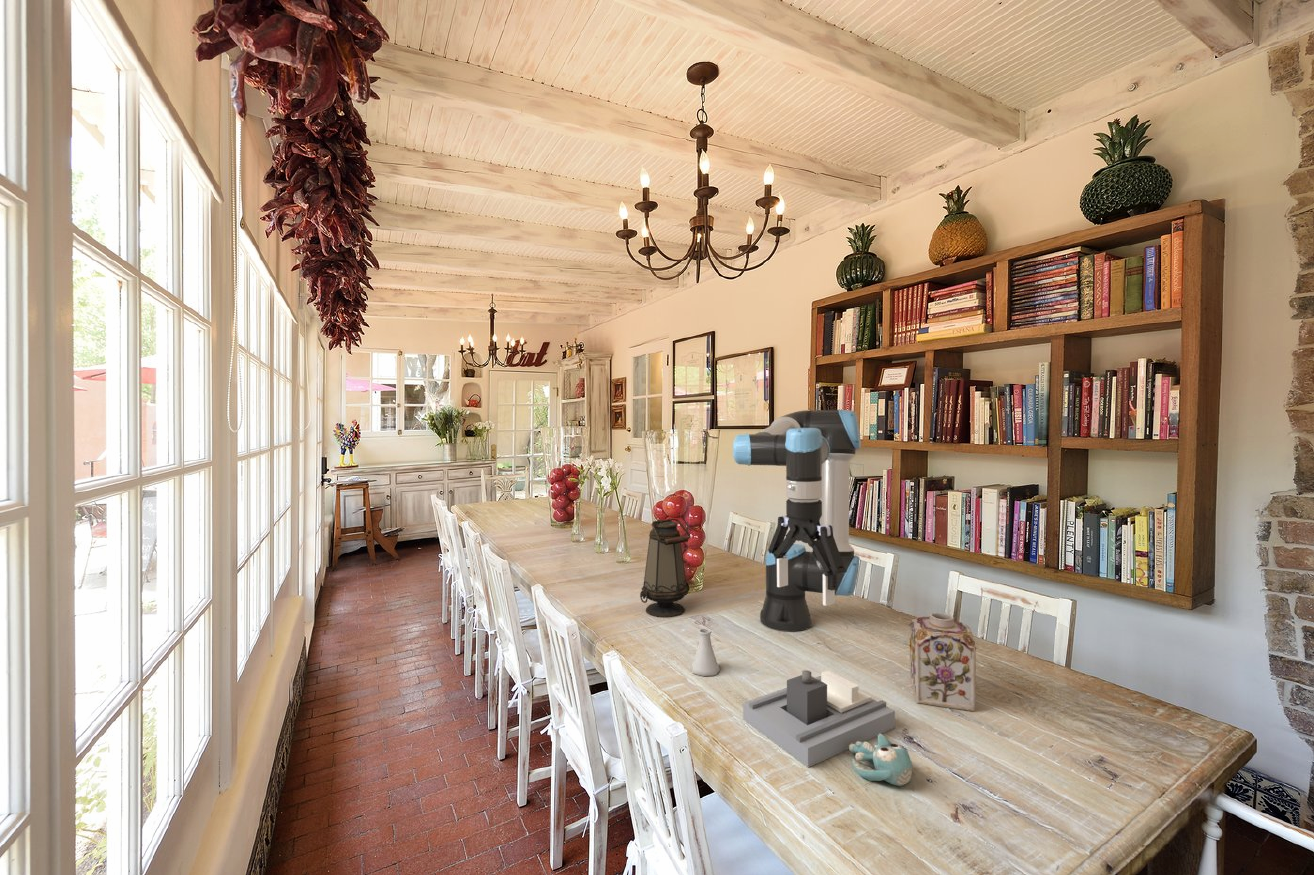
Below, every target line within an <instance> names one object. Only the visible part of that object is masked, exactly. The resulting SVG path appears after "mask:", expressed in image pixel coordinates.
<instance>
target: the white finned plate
mask: <svg viewBox="0 0 1314 875" xmlns="http://www.w3.org/2000/svg"><path fill="white" fill-rule="evenodd" d="M820 676H821V681H822V682H823V683H825V684H827V705H829V706H830V707H832V708H834V709H836V710H837V711H839V712H841V713H842V712H844V711H847V710H849V709H852V708H854V707H857V706H859V705H862V704H864V703H867V702H869V701H871V698H872V696H871V695H869V694H868V693H866V692H864V691H861V690H859V685H858V684H856V683H854V682H852V681H850V680H848V679H846V678H844V677H842V676H840V675H838V674H837V673H834V672H832V671H830V670H828V669H827V670H825V671H822V672H821V674H820Z"/></svg>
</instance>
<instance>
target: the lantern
mask: <svg viewBox="0 0 1314 875" xmlns="http://www.w3.org/2000/svg"><path fill="white" fill-rule="evenodd" d="M678 524H679V525H680V527H681V528H682V529H683V531H684V532H685V533H686V535H683V536H681V533H680V531H679V529H678V528H677V526H679V525H678ZM651 527H652V529H651V530H649V534H648V536H649V540H648V547H647V554H646V555H647V556H646V562H645V571H644V578H643V579H644V580H643V585H642V587H641V591H640V595H639V597H640V600H641V602H642V603H643V604H646V603H647V602H648V600H650V601H652V602H654V603H651V604H649V605H648V606H647V607H646V608H645V612H646V614H647V615H649V616H652V617H655V618H663V619H664V618H665V619H666V618H668V619H669V618H675V617H679V616H681V615H683V614H685V612H686V608H685V607H684V605H682V604H681V603H677V602H678V601H681V600H682V599H684V598H685V596H687V595H688V593H689V591H690V586H689V583H688V582H687V577H686V570H685V562H684V556H683V549H682V544H683V543H688V542H689V539H691V534H690V533H689V531H688V530H687V529H686V527H685V526H684V525H683V523H682V521H681V520H680V519H678V518H677V517H676V518H675V517H674V518H670V517H669V518H666V519H658V520H655V521H652V523H651Z"/></svg>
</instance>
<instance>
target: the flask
mask: <svg viewBox="0 0 1314 875" xmlns="http://www.w3.org/2000/svg"><path fill="white" fill-rule="evenodd" d="M698 633H699V642H698V646H697V649H696V652H695V655H694V658H693V660H692V664H691V665H690V666H691V667H690V670H691V671H692V674H695V675H698V676H703V677H706V676H707V677H708V676H709V677H711V676H717V674H719V672H720V671H721V670H720V666H719V664H718V661H717V659H716V658H717V657H716V656H715V652H714V649H713V645H712V640H711V634H712V629H711V628H706V627H705V628H704V627H702V628H700V629H698Z"/></svg>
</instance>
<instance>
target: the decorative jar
mask: <svg viewBox="0 0 1314 875" xmlns="http://www.w3.org/2000/svg"><path fill="white" fill-rule="evenodd" d="M909 627H910V628H909V677H910V678H909V679H910V682H911V687H912V690H913V695H914V699H915V702H916V704H921V705H926V706H927V705H929V706H934V707H941V708H949V709H952V710H953V709H954V710H963V711H969V712H974V711H975V710H976V700H977V699H976V698H977V697H976V693H977V690H976V689H977V658H976V656H977V653H976V650H977V647H976V642H975V639H974V635H973V632H972V630H971V628H970V627H969V626H968V624H966V623H963V622H961V621H958V620H955V618H954V616H953V615H951V614H948V613H947V612H946V613H945V612H940V611H939V612H931V613H930V615H927V616H921V617H919V616H918V617H917V618H913V619H911V622H910V624H909Z"/></svg>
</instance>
